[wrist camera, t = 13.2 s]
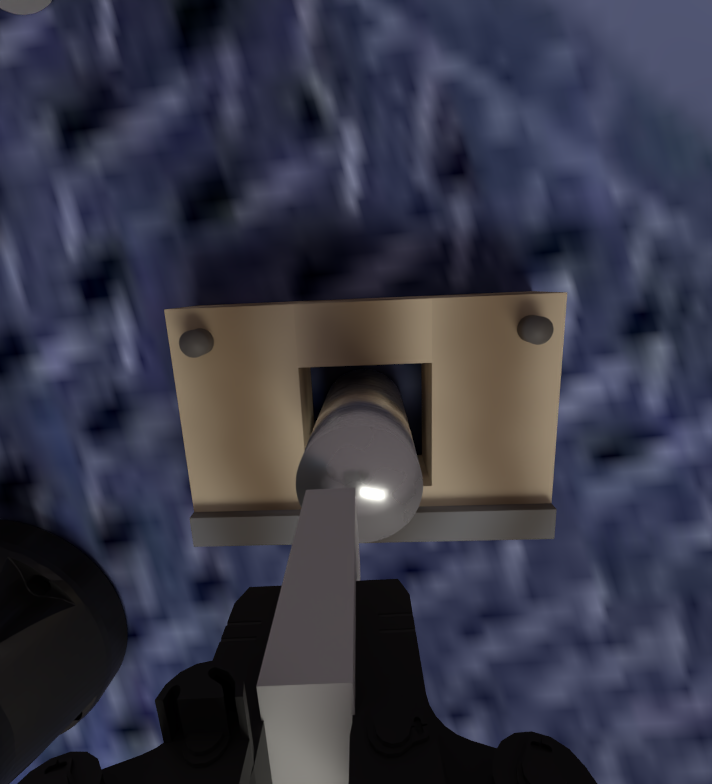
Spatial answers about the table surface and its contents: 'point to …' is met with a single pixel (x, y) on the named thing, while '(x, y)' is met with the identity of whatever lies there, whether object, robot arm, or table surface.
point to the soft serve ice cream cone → (24, 6)
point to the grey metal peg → (365, 453)
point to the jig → (373, 347)
